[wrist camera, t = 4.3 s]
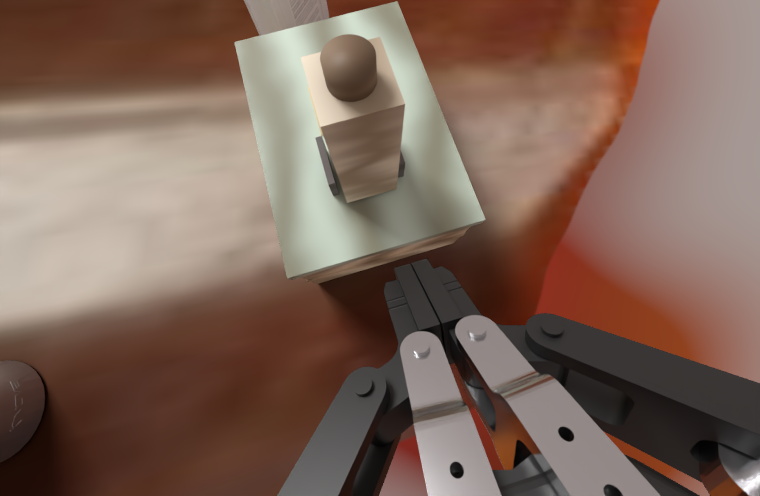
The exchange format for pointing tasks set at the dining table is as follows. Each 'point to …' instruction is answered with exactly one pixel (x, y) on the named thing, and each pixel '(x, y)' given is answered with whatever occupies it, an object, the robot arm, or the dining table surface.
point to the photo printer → (285, 13)
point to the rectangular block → (315, 166)
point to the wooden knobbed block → (358, 112)
